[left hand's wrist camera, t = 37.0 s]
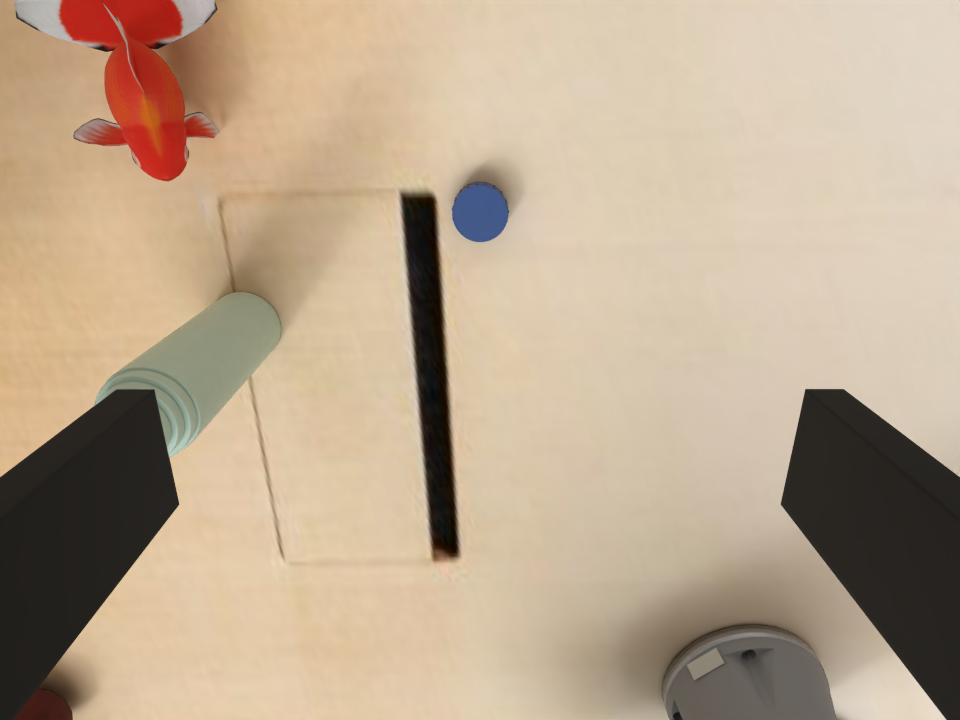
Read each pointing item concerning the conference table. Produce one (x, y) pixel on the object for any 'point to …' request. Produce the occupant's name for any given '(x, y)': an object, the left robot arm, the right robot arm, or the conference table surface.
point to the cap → (480, 212)
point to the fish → (133, 72)
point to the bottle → (202, 364)
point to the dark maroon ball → (45, 707)
